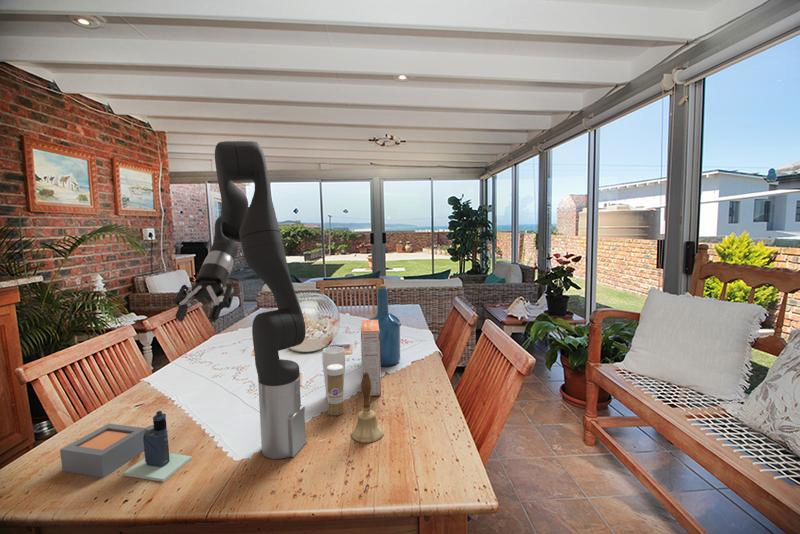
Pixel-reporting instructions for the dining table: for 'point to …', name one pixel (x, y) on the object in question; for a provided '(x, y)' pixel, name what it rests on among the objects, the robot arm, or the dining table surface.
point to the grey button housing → (102, 452)
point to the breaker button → (104, 440)
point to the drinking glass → (333, 361)
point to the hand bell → (366, 417)
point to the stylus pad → (158, 468)
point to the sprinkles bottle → (335, 389)
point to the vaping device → (156, 442)
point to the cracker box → (371, 354)
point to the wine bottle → (387, 330)
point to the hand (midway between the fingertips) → (195, 320)
